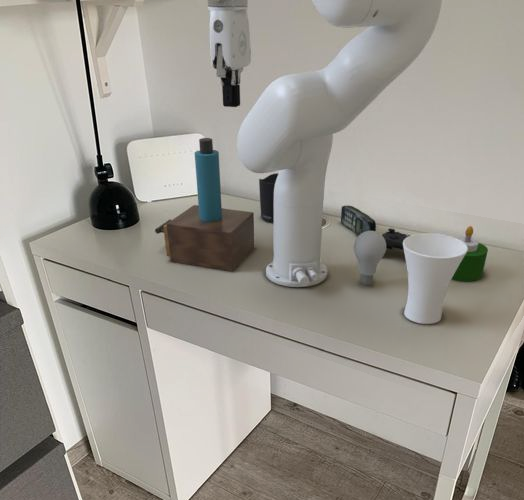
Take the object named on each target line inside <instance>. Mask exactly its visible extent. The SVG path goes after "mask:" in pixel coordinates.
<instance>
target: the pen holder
mask: <svg viewBox="0 0 524 500" xmlns="http://www.w3.org/2000/svg"><path fill="white" fill-rule="evenodd" d="M278 174H279V172H278V173H276V172H274V173H271V174H269V175H267V176H266V177H264V178H259V179H258V185H259V186H258V187H259V188H258V189H259V202H260V203H259V207H260V217H261V220H263V221H265V222H266V223H271V224H274V187H275V182H276V179H277V176H278Z"/></svg>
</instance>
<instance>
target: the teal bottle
mask: <svg viewBox="0 0 524 500" xmlns="http://www.w3.org/2000/svg"><path fill="white" fill-rule="evenodd" d="M198 143H199V150H197V151H195V152H194V163H195V166H194V167H195V177H196V189H197V192H196V193H197V204H198V205H199V218H200V220H202V221H206V222H213V221H218V220H220V219H222V208H223V207H222V194H221V193H222V189H221V170H220V153H219V151H218V150H216V149H214V144H213V143H214V141H213V138H211V137H202V138H199V140H198Z"/></svg>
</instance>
